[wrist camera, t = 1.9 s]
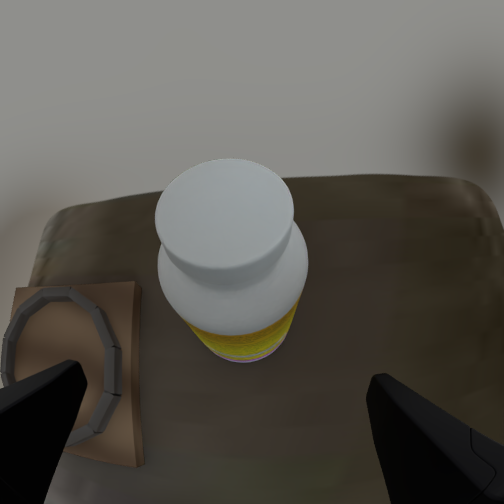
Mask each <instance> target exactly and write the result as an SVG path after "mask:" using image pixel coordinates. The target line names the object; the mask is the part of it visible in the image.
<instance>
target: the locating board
mask: <svg viewBox="0 0 504 504" xmlns="http://www.w3.org/2000/svg"><path fill="white" fill-rule="evenodd" d="M141 293H142V288H141V287H140V286H139V285H138V284H137V283H136V282H135V281H127V282H112V283H97V284H80V285H62V286H43V287H22V288H16V291H15V296H14V302H13V307H12V312H11V319H10V324H9V326H8V328H7V330H6V332H5V334H4V337H5V338H3V344H2V355H1V370H0V372H1V373H2V374H1V378H2V382H3V385H4V387H6V386H8V385H11V384H13V383H15V382H18V381H20V380H22V379H24V378H27V377H29V376H31V375H34V374H36V373H38V372H41V371H43V370H45V369H47V368H50V367H52V366H54V365H56V364H59V363H61V362H63V361H65V360H68V359H71V360H75V361H78V362H80V364H81V366H82V368H83V371H84V373H85V376H86V378H87V382H88V385H87V389H86V392H85V395H84V398H83V401H82V404H81V407H80V410H79V413H78V416H77V419H76V422H75V424H74V426H73V429H72V431H71V433H70V436H69V438H68V440H67V443H66V445H65V447H64V450H63V451H64V452H67V453H71V454H74V455H78V456H82V457H85V458H89V459H94V460H98V461H102V462H107V463H112V464H117V465H123V466H128V467H135V468H137V467H140V466H142V465H144V464H145V462H144V453H143V442H142V430H141V415H140V393H139V332H140V309H141Z"/></svg>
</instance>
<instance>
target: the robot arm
mask: <svg viewBox="0 0 504 504" xmlns="http://www.w3.org/2000/svg"><path fill="white" fill-rule="evenodd" d="M87 385H88V382H87V378H86V376H85V373H84V371H83V368H82V366H81V364H80V362H78V361H75V360H71V359H68V360H65V361H63V362H61V363H59V364H56V365H54V366H52V367H50V368H47V369H45V370H43V371H41V372H38V373H36V374H34V375H31V376H29V377H27V378H24V379H22V380H20V381H18V382H15V383H13V384H11V385H8V386H6V387H4V388H1V389H0V504H44V501H45V498H46V495H47V492H48V489H49V486H50V483H51V481H52V478H53V475H54V473H55V470H56V467H57V465H58V462H59V460H60V457H61V455H62V452H63V450H64V447H65V445H66V443H67V440H68V438H69V436H70V433H71V431H72V429H73V426H74V424H75V422H76V419H77V416H78V413H79V410H80V407H81V404H82V401H83V398H84V395H85V392H86V389H87ZM366 402H367V408H368V413H369V418H370V424H371V429H372V435H373V440H374V444H375V448H376V451H377V455H378V458H379V462H380V465H381V468H382V472H383V475H384V479H385V483H386V486H387V490H388V494H389V498H390V501H391V504H504V445H502V444H500V443H498V442H496V441H494V440H492V439H490V438H488V437H486V436H485V435H483V434H481V433H479V432H478V431H476V430H475V429H473V428H470V427H469V426H468V425H466V424H465V423H463V422H461V421H460V420H458V419H457V418H455V417H454V416H452V415H450V414H449V413H447V412H446V411H444V410H442V409H441V408H439V407H438V406H436V405H435V404H433V403H431V402H430V401H428V400H427V399H425V398H424V397H422V396H421V395H419V394H418V393H416V392H414V391H413V390H411V389H410V388H408V387H407V386H405V385H404V384H402V383H401V382H399V381H398V380H396V379H395V378H393V377H392V376H390V375H389V374H387V373H382V374H375V375H373V377H372V379H371V382H370V385H369V388H368V392H367V395H366Z"/></svg>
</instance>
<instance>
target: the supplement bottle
mask: <svg viewBox="0 0 504 504" xmlns="http://www.w3.org/2000/svg"><path fill="white" fill-rule="evenodd" d="M293 215H294V206H293V200H292V196H291V194H290V191H289V189H288V187H287V186H286V184H285V183H284V182H283V180H282V179H281V178H280V177H279V176H278V175H277V174H276V173H274V172H273V171H271V170H269V169H268V168H266V167H265V166H262V165H260V164H257V163H255V162H252V161H248V160H243V159H216V160H211V161H207V162H203V163H200V164H198V165H196V166H193V167H191V168H189V169H187V170H186V171H184V172H183V173H181V174H180V175H179V176H177V177H176V178H175V179H174V180H172V182H171V183H170V184H169V185H168V186H167V187H166V189H165V190H164V191H163V193H162V195H161V197H160V199H159V201H158V204H157V207H156V212H155V225H156V230H157V233H158V236H159V238H160V241H161V243H162V244H161V247H160V250H159V255H158V275H159V280H160V285H161V287H162V290H163V292H164V294H165V296H166V298H167V300H168V302H169V303H170V304H171V306H172V307H173V308H174V310H175V311H176V312H177V313H178V314H179V316H180V317H181V318H182V319H183V320H184V321H185V322H186V323H187V325H188V326H189V327H190V328H191V329H192V330H193V332H194V333H195V334H196V335H197V336H198V337H199V338H200V340H201V341H202V342H203V343H204V344H205V345H206V346H207V347H208V348H209V349H210V350H211V351H212V352H214V353H215V354H216V355H218V356H220V357H222V358H224V359H226V360H229V361H233V362H252V361H257V360H259V359H262V358H264V357H266V356H268V355H269V354H271V353H272V352H274V351H275V350H276V349H277V348H278V347H279V346H280V344H281V343H282V342H283V340H284V339H285V337H286V335H287V332H288V330H289V327H290V324H291V321H292V319H293V316H294V313H295V310H296V307H297V304H298V301H299V299H300V296H301V293H302V291H303V287H304V284H305V280H306V277H307V271H308V253H307V248H306V244H305V241H304V238H303V236H302V234H301V231H300V230H299V228H298V226H297V225H296V223H295V222H294V221H293Z"/></svg>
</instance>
